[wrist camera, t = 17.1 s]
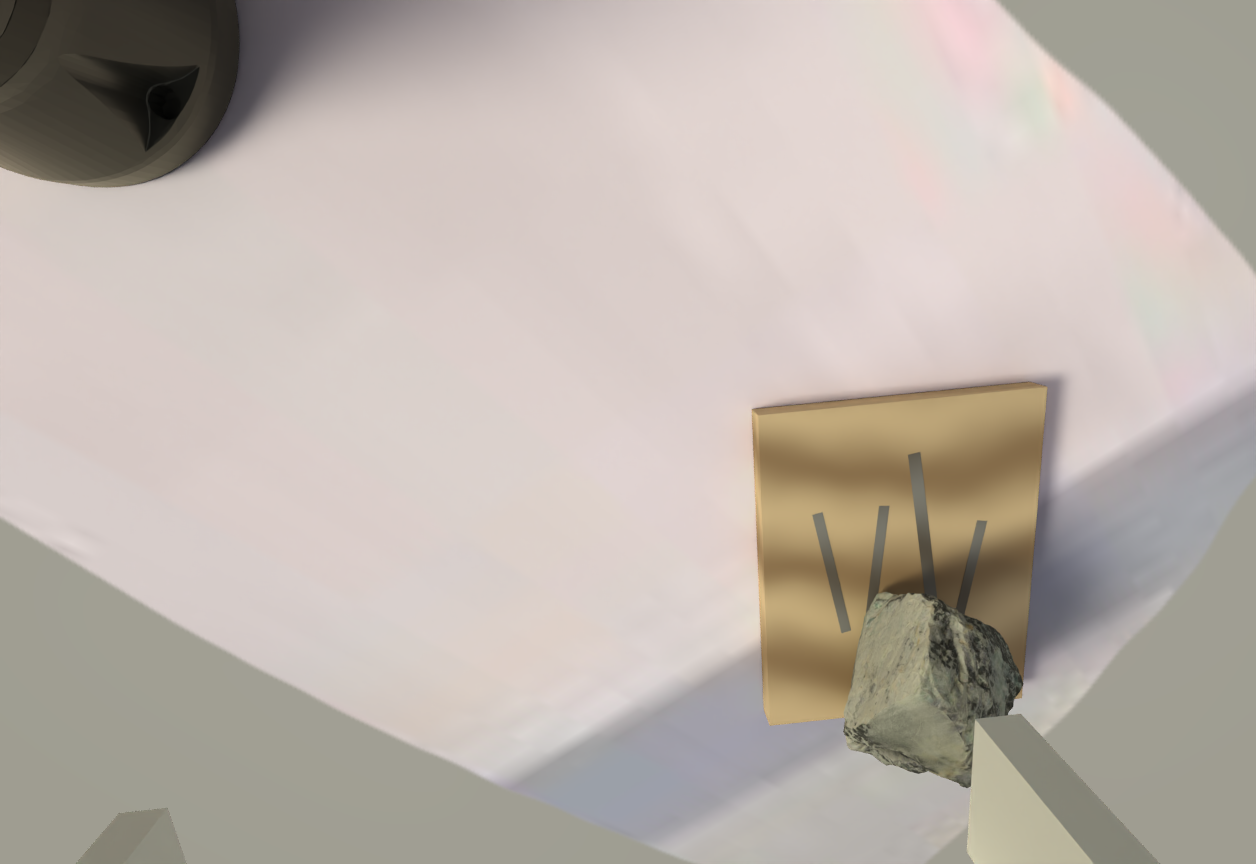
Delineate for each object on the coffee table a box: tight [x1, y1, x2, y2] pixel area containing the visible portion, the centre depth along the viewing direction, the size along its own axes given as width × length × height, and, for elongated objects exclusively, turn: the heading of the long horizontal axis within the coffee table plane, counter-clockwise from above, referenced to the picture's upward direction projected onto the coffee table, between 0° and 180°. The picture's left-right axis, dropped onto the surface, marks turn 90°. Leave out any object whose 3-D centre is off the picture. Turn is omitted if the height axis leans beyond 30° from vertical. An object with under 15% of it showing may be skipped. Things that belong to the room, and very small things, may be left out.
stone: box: [843, 592, 1023, 788], centre depth 36 cm, size 10×10×10 cm
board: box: [752, 382, 1047, 726], centre depth 39 cm, size 20×16×2 cm
